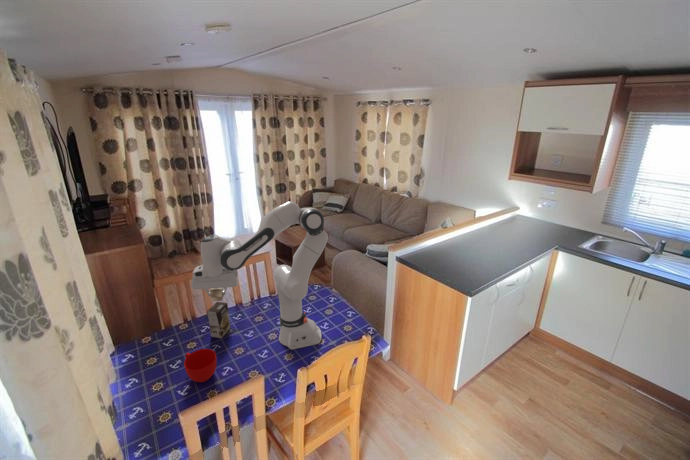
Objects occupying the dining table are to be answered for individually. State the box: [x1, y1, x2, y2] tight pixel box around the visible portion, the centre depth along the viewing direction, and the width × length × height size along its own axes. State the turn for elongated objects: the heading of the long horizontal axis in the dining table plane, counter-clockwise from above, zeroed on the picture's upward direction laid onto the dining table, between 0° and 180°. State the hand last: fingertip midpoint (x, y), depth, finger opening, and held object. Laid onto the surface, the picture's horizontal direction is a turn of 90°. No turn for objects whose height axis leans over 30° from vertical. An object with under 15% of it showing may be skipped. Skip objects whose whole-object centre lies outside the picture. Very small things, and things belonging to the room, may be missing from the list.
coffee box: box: [207, 301, 231, 339], centre depth 169 cm, size 9×6×16 cm
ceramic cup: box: [183, 348, 218, 383], centre depth 142 cm, size 13×17×10 cm
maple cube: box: [209, 288, 225, 302], centre depth 152 cm, size 5×5×5 cm
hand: (217, 294), depth 153 cm, fingers closed on maple cube, 5 cm apart
